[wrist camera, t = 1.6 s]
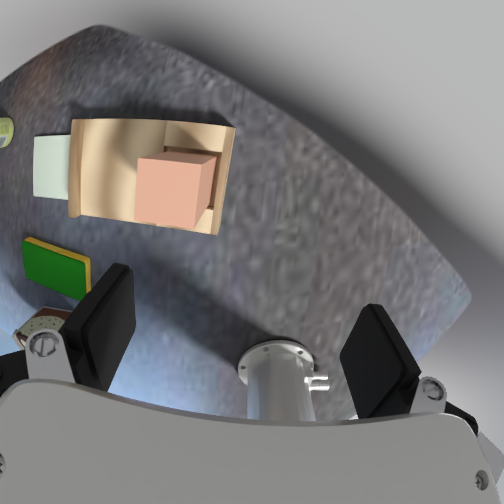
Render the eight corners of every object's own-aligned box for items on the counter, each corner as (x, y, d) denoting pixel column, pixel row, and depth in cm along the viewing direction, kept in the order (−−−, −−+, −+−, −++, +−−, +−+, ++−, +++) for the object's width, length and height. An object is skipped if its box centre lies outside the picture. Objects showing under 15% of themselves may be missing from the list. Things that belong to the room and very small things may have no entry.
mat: (81, 134, 28) (78, 134, 28) (78, 199, 32) (75, 200, 31) (37, 136, 28) (34, 136, 27) (35, 195, 31) (33, 196, 31)
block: (217, 156, 29) (201, 164, 20) (210, 200, 31) (193, 229, 22) (172, 150, 28) (138, 158, 19) (167, 194, 30) (134, 220, 21)
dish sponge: (92, 295, 38) (85, 303, 36) (32, 271, 37) (25, 277, 35) (91, 256, 36) (83, 264, 33) (29, 235, 34) (21, 240, 32)
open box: (235, 128, 29) (233, 127, 25) (219, 226, 34) (215, 239, 30) (91, 119, 28) (72, 119, 23) (86, 207, 32) (68, 217, 28)
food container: (48, 330, 42) (24, 362, 32) (38, 304, 39) (10, 335, 30) (95, 339, 42) (72, 378, 33) (85, 312, 39) (57, 350, 30)
